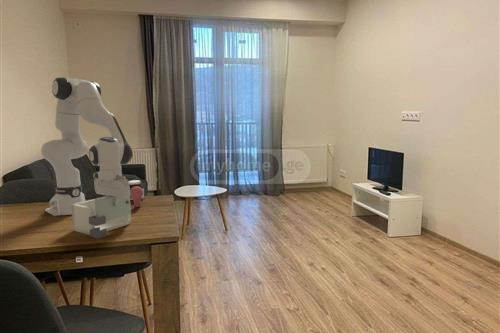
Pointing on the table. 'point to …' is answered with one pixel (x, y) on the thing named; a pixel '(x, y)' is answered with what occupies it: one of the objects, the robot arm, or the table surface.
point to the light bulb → (136, 195)
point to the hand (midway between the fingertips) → (113, 205)
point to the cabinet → (94, 220)
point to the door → (112, 207)
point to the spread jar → (133, 184)
